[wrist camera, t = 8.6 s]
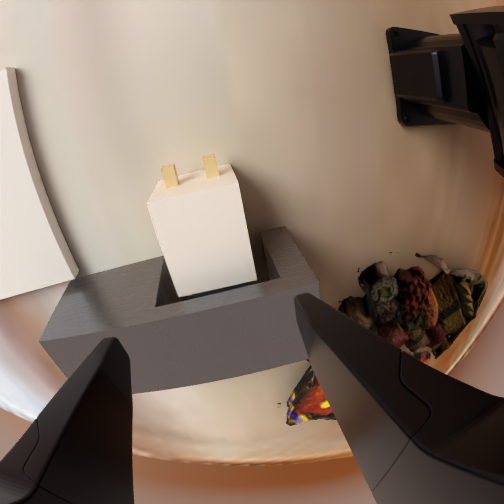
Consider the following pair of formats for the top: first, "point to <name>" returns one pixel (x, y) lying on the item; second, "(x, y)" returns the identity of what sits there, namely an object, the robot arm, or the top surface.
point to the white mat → (25, 208)
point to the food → (400, 320)
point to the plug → (202, 229)
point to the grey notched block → (185, 321)
